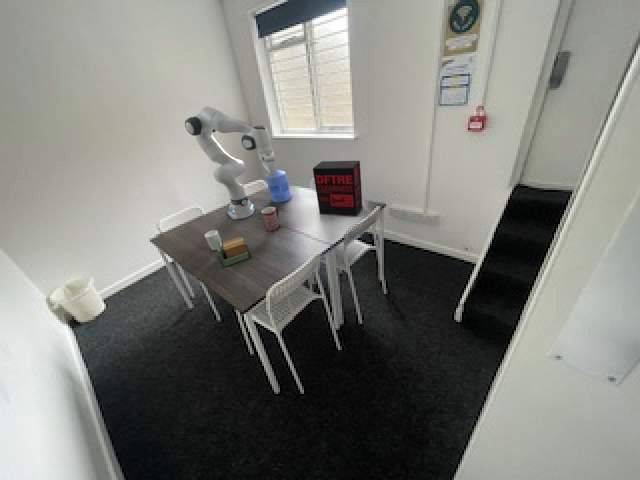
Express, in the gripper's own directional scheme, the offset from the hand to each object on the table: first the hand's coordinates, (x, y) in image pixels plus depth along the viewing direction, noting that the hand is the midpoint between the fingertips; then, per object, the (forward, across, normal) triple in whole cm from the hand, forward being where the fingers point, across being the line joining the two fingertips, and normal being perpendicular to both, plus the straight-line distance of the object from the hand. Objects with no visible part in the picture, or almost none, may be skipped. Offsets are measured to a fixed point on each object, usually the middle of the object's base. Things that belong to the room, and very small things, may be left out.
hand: (271, 177), depth 162 cm
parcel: (+31, +24, -34) cm, 52 cm away
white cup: (+31, +7, -45) cm, 55 cm away
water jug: (+31, -38, +11) cm, 51 cm away
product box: (+31, +12, +40) cm, 52 cm away
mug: (+31, +5, -6) cm, 32 cm away
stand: (+31, +24, -35) cm, 53 cm away
